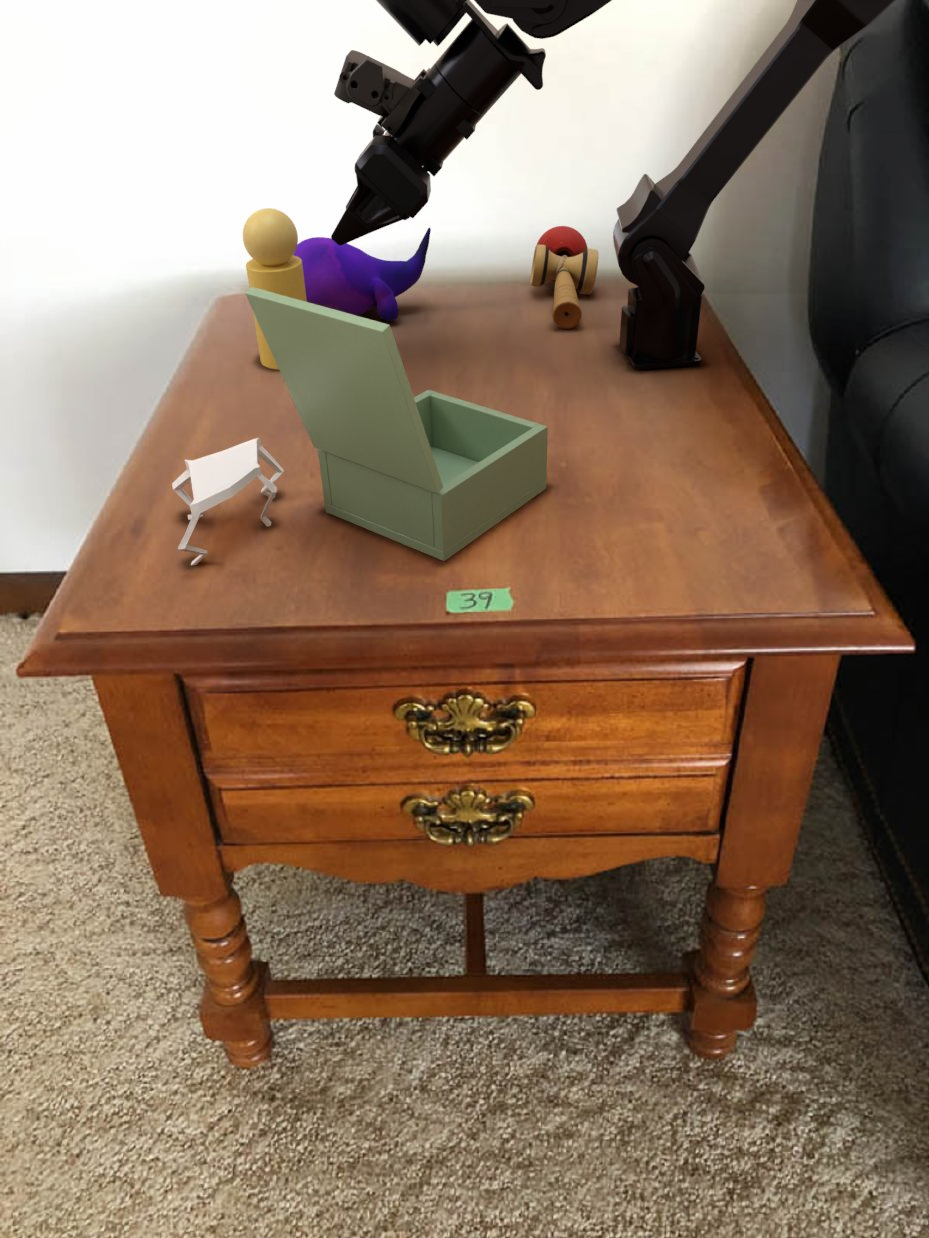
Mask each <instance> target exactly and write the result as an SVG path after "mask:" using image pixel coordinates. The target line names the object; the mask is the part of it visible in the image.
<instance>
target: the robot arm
mask: <svg viewBox="0 0 929 1238" xmlns="http://www.w3.org/2000/svg"><path fill="white" fill-rule="evenodd" d="M375 1H376V2H377V3H378V4H379V5H380V7H382V8H383V10H384V11H385V12H386V13H387V14H388V15H389V16H390V17H391V18H392V19H393V20H394V21H395V22H396V23H397V24H398V25H399V27H400V28H401V29H402V30H403V31H404V32H405V33H406V34H407V35H408V37H410V38H411V39H412V40H413V41H414V43H416V45H418V47H420V46H421V45H423V43H424V42H425V41H426V42H427V43H428V44H429V45H431V44H432V43H434V45H435V46H436V47H439V46H440V45H441V44H442V43H443V41H444V40H445V39H446V38H447V37H448V36H449V34H451V32H452V31H453V30H454V28H456V26H457V25H458V24H459V22H460V21H461V20H462V19H463V17H464V16H466V14H467V15H468V16H469V18H470V20H469V22H467V24H465V27H463V29H462V30H461V31H460V32H459V34H458V35H457V36H456V37H455V38H454V40H453V41H452V42H451V43H450V45H448V47H447V48H446V49H445V51H444V52H443V53H442V54H441V55H440V56H439V58H438V59H437V60H436V61H435V62H434V63H433V65H432V66H431V67H429V68H427V70H426V69H425V68H423V69H422V70H421V71H420V73H418V75H417V76H416V77H415V78H413V77H410V76H409V75H406V74H404V73H402V72H401V71H399V70H397V69H395V68H393V67H391V66H389V65H387V64H385V63H383V62H381V61H379V60H378V59H375V58H372V57H371V56H369V55H367V54H365V53H363V52H361V51H358V50H354V49H351V50H350V51H349V52H348V53H347V55H346V56H345V59H344V62H343V65H342V67H341V71H340V74H339V75H338V76H339V77H338V79H337V83H336V87H335V89H334V92H333V95H334V96H335V97H336V98H337V99H338V100H340V101H342V102H343V103H346V104H351V103H352V104H354V105H357V106H358V107H360V108H362V109H364V110H366V111H368V112H371V113H373V114H375V115H376V116H380V117H379V119H378V120H377V121H376V122H377V123H376V124H375V125H374V128H373V129H372V139H371V140H370V141H369V142H368V143H367V145H366V146H365V147H364V149H363V150H362V152H361V153H360V154H359V155H358V157H357V159H356V162H355V163H354V173H355V177H356V187H355V189H354V191H353V193H352V194H351V196H350V198H349V200H348V201H347V203H346V205H345V211H344V212H343V214H342V216H340V217H341V218H340V219H339V220H338V223H337V225H336V226H335V228H334V229H333V232H332V234H331V236H330V238H331V239H332V240H333V241H334V242H335V243H337V244H338V245H340V246H341V245H343V244H346V243H347V244H349V243H350V242H353V241H354V240H357V239H359V238H361V237H364V236H366V235H368V234H370V233H373V232H376V231H378V230H380V229H383V228H385V227H388V226H390V225H394V224H395V223H398V222H400V221H407V220H409V219H411V218H412V219H414V218H415V217H416V216H417V215H418V214H419V212H421V210H422V209H423V208H424V207H425V206H426V204H428V202H429V199H430V195H431V192H432V187H431V186H432V185H431V175H432V176H433V177H435V176H436V175H437V174H438V173H439V172H440V171H441V169H442V168H443V166H444V161H446V160H447V158H448V157H449V156H450V155H451V154H452V152H453V151H454V150H455V149H457V147H458V146H459V145H460V143H461V142H462V141H463V140H464V139H465V140H466V141H467V140H468V139H469V138H470V137H471V136H472V135H473V134H474V133H475V131H476V127H477V125H478V123H479V122H480V121H481V120H482V119H483V118H484V116H485V115H486V114H487V113H488V112H489V111H490V109H492V108H493V106H494V105H495V104H496V103H497V101H499V99H500V98H501V97H502V96H503V95H504V94H505V93H506V91H508V90H509V88H510V87H511V86H512V85H513V84H514V82H515V81H516V80H518V78H519V77H520V76H521V75H522V76H523V77H524V79H526V81H527V82H528V83H529V84H530V85H531V86H532V87H533V88H534V90H536V91H540V90H542V88H543V87H544V78H543V70H544V69H543V68H544V63H545V61H546V57H547V54H546V49H545V48H543V47H541V48H530V47H529V45H528V44H526V43H525V41H524V40H523V39H522V38H521V36H520V35H519V34H517V32H516V31H515V30H514V29H513V28H512V27H511V25H510V24H509V23H505V24H503V25H502V26H501V27H500V28H499V29H498V28H496V26H494V25H493V24H492V23H491V22H490V20H489V19H488V18H487V17H486V16H485V15H484V14H483V13H482V12H481V11H480V10H479V9H478V8H477V6H476V5H475V4H474V3H473V2H472V1H471V0H375ZM473 1H474V2H475V3H476V4H477V5H478V7H479V8H480V9H481V10H482V11H483V12H484V13H485V14H487V15H492V16H496V17H502V18H506V19H511V20H512V21H513V23H514V24H515V25H516V27H518V29H519V30H520V31H521V32H523V33H524V34H526V35H528V36H530V37H532V38H534V39H539V40H544V39H548V38H554V37H556V36H558V35H561V34H562V33H563V32H565V31H567V30H568V29H570V28H572V27H573V26H575V25H577V24H578V23H581V21H584V20H585V19H587V18H588V17H590V16H592V15H593V14H595V13H597V12H598V11H599V10H601V9H602V8H603V7H604V6H606V5H608V4H609V3H610V2H612V1H613V0H473ZM896 1H897V0H796V2H795V4H794V7H793V9H792V12H791V14H790V17H789V18H788V20H787V22H786V23H785V24H784V26H783V27H782V28H781V30H780V31H779V32H778V34H777V35H776V36H775V37H774V39H773V40H772V41H771V43H770V44H769V45H768V47H767V48H766V49H765V51H764V52H763V53H762V54H761V56H760V57H759V59H758V60H757V61H756V62H755V64H754V65H753V66H752V68H751V69H750V71H749V72H748V73H747V74H746V75H745V77H744V78H743V80H742V81H741V82H740V84H739V85H738V86H737V88H736V89H735V90H734V91H733V93H732V94H731V95H730V96H729V98H728V99H727V100H726V102H725V103H724V105H723V106H722V107H721V108H720V109H719V111H718V112H717V114H716V115H715V117H714V118H713V119H712V120H711V122H710V123H709V124H708V126H706V128H705V129H704V130H703V132H702V133H701V135H700V136H699V138H697V140H696V141H695V143H694V144H693V145H692V146H691V148H690V149H689V150H688V152H687V153H686V154H685V156H684V157H683V158H682V160H681V161H680V162H679V164H678V165H677V166H676V167H675V168H674V169H673V170H672V171H671V172H669V173H667V174H666V175H665V176H664V177H662V178H661V179H660V180H659V181H657V182H656V183H655V182H654V180H653V179H652V178H651V177H650V176H649V175H648V174H647V173H644V174H643V175H642V177H641V178H640V179H639V181H638V183H637V185H636V187H635V189H634V191H633V192H632V194H631V195H630V197H629V198H628V199H627V200H626V201H625V202H624V203H622V204H621V205H620V206H618V207H616V209H615V210H616V214H617V218H618V219H617V220H616V222H615V223H614V224H615V225H614V228H613V231H612V234H613V235H612V239H613V240H612V241H613V247H614V248H613V249H614V251H615V256H616V260H617V264H618V268H619V270H620V272H621V275H622V276H623V277H624V278H625V279H626V280H627V281H628V282H629V283H631V284H633V285H635V286H636V287H629V288H628V289H627V290H628V292H627V304H625V305H622V307H621V311H620V329H619V343H618V344H619V348H620V349H621V351H622V353H623V355H624V356H625V357H627V359H628V361H629V363H631V366H632V368H633V369H636V370H648V369H660V368H673V367H687V366H698V365H701V364H702V357H701V356H700V355H699V354H698V352H697V347H698V335H699V327H700V318H701V309H702V302H703V301H702V299H703V293H704V291H705V288H706V287H705V286H706V285H705V283H704V281H703V279H702V275H701V274H700V272H699V269H698V266H697V264H696V262H695V260H694V257H693V255H692V253H690V251H691V249H692V248H693V246H694V244H695V242H696V240H697V238H698V235H699V233H700V231H701V228H702V226H703V223H704V221H705V219H706V216H707V213H708V212H709V210H710V207H711V205H712V204H713V202H714V200H715V199H716V198H717V197H718V195H719V194H720V193H721V191H723V189H724V188H725V186H726V185H727V184H728V183H729V182H730V180H732V178H733V177H734V175H735V174H736V173H737V171H738V170H739V169H740V168H741V166H742V165H743V164H744V163H745V162H746V160H747V159H748V158H749V156H750V155H751V154H752V153H753V151H754V150H755V149H756V147H757V146H758V145H759V144H760V143H761V141H762V140H763V139H764V137H765V136H766V135H767V134H768V133H769V131H770V130H771V129H772V127H773V126H774V125H775V124H776V123H777V121H778V120H779V119H780V117H781V116H782V114H784V112H785V111H786V110H787V109H788V107H789V106H790V105H791V104H792V103H793V101H794V100H795V99H796V98H797V97H798V95H799V94H800V92H801V91H802V90H803V89H804V87H805V86H806V85H807V83H808V82H809V81H810V80H811V79H812V77H813V76H814V75H815V74H816V72H817V71H818V70H819V68H820V67H821V66H822V65H823V64H824V62H826V60H827V59H828V58H829V57H830V56H831V55H832V54H833V53H834V52H835V51H836V50H838V49H839V48H840V47H842V46H843V45H844V44H846V43H847V42H849V41H850V40H852V39H853V38H855V36H857V35H858V34H861V32H863V31H864V30H865V29H866V28H868V27H869V26H871V24H873V22H875V21H876V20H877V19H878V18H879V17H880V16H881V15H882V14H883V13H885V11H886V10H888V8H889V7H891V6H892V5H893V4H894V3H895V2H896Z"/></svg>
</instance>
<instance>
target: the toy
mask: <svg viewBox="0 0 929 1238" xmlns="http://www.w3.org/2000/svg"><path fill="white" fill-rule="evenodd" d="M431 231H432V230H431V227H428V228H427V229H426V232H425V234H424V236H423V238H422V239H421V241H420V243H419V246H418V247H417V250H416V251H415V253H414V254H413V256H411V257H410V258H408V259H407V260H386V259H381V258H378V257H375V256H372V255H370V254H368V253H366V252H365V251H363V250H362V249H361V248H359V247H356V246H354V245H351V244H349V243H346V244H343V245H341V246H340V245H338V244H337V243H335V242H334V241H333V240H332V238H331V237H325V236H316V237H309V238H306V239H303V240H301V241H300V242H298V244H297V248H296V251H295V253H294V254H293V255H294V256H297V257H299V258H301V260H302V266H303V274H304V282H305V290H306V298H307V302H309V303H312V304H316V305H320V306H323V307H327V308H331V309H334V310H338V311H341V312H345V313H349V314H352V315H356V316H361V315H363V314H364V313H367V312H369V311H370V310H372V309H373V308H375V307H376V313H377V315H378V317H379V318H381V319H382V320H383V321H385V322H392V321H395V320H396V319H397V318H398V316H399V306H398V302H397V299H396V298H397V297H399V296H401V295H402V294H404V293H406V292H407V291H408V290H409V289H410V288H412V287H413V286H414V285H415V284H416V283H418V281H419V280H420V278H421V276H422V274H423V271H424V267H425V265H426V260H427V259H426V258H427V254H428V249H429V245H430V238H431V237H430V236H431Z"/></svg>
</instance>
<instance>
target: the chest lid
mask: <svg viewBox="0 0 929 1238" xmlns="http://www.w3.org/2000/svg"><path fill="white" fill-rule="evenodd" d="M244 294H245V297H246V299H247V301H248V303H249V306H250V307H251V310H252V313H253V312H254V314H255V317H256V319H257V321H258V323H259V326H260V328H261V330H262V332H263V335H264V337H265V339H266V341H267V343H268V346H269V348H270V350H271V352H272V355H273V357H274V359H275V361H276V364H277V366H278V368H279V370H278V371H279V373H280V375H281V377H282V379H283V382H284V383H285V386H286V388H287V391H288V393H289V395H290V398H291V399H292V401H293V403H294V406H295V408H296V410H297V413H298V415H299V417H300V419H301V422H302V424H303V426H304V428H305V431H306V433H307V435H308V437H309V439H310V442H311V444H312V446H313V448H315V449H317V450H318V449H320V450H323V451H325V452H328V453H331V454H333V455H336V456H339V457H341V458H344V459H347V460H349V461H352V462H355V463H357V464H360V465H363V466H365V467H368V468H371V469H373V470H376V471H379V472H381V473H384V474H387V475H389V476H392V477H395V478H397V479H400V480H403V481H405V482H408V483H411V484H413V485H416V486H419V487H421V488H424V489H427V490H429V491H432V492H435V493H438V492H439V491H440V490H441V489H442V488H443V484H442V481H441V478H440V475H439V472H438V469H437V466H436V463H435V460H434V457H433V454H432V451H431V448H430V445H429V442H428V439H427V436H426V433H425V430H424V427H423V424H422V421H421V418H420V415H419V412H418V409H417V406H416V403H415V400H414V397H415V396H414V394H413V391H412V388H411V385H410V383H409V382H410V381H409V379H408V376H407V373H406V369H405V367H404V363H403V360H402V357H401V354H400V352H399V349H398V346H397V343H396V340H395V336H394V333H393V330H392V327H391V325H390V324H388V323H385V322H382V321H378V320H374V319H370V318H367V317H363V316H361V315H358V316H356V315H352V314H349V313H345V312H341V311H338V310H334V309H331V308H327V307H323V306H320V305H316V304H312V303H309V302H305V301H301V300H298V299H294V298H290V297H287V296H283V295H280V294H276V293H272V292H269V291H265V290H261V289H258V288H254V287H251V288H250V289H249V288H248V290H246V292H245V293H244ZM254 314H253V315H254Z"/></svg>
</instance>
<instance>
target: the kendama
mask: <svg viewBox="0 0 929 1238" xmlns="http://www.w3.org/2000/svg"><path fill="white" fill-rule="evenodd" d="M598 265H599V251H598V249H595V248H588V244H587V241H586V239H585V238H584V236H583V235H582V233H580V231H578V230H577V229H575V228H574V227H572V226H567V225H557V226H554V227H551V228H549V229H548V230H546V231H545V232H544V233H543V234H542V235H541V236H540V237H539V239H538V240H537V242H536V244H535V247H534V253H533V258H532V263H531V272H530V282H529V284H530V286H531V287H534V288H541V286H543V285H545V284H546V283H549V282H554V292H553V307H552V320H553V322H554V324H555V325H556V326H557V327H559V328H561V329H565V330H568V329H572V328H575V327H577V325H579V323H580V322H581V319H582V309H581V305H580V302H579V297H578V293H579V294H580V295H587V296H590V295H591V294H592V292H593V291H594V288H595V284H596V279H597V272H598ZM577 291H578V293H577Z"/></svg>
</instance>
